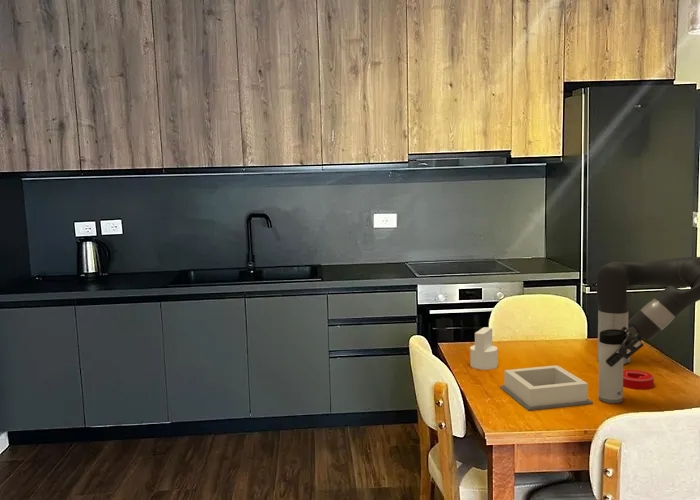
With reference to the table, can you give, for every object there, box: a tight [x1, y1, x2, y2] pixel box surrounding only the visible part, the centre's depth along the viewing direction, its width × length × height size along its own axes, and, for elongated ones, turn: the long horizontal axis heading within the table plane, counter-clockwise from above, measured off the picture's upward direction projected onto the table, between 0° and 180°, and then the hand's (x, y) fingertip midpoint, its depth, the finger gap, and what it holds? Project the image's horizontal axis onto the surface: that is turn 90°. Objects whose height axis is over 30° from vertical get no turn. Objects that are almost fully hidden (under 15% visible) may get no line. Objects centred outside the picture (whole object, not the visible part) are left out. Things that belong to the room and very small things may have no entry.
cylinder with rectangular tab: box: [469, 326, 499, 371], centre depth 209 cm, size 9×9×12 cm
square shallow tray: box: [499, 365, 594, 412], centre depth 180 cm, size 19×19×6 cm
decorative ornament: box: [623, 369, 655, 391], centre depth 187 cm, size 10×10×3 cm
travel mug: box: [598, 329, 625, 405], centre depth 174 cm, size 6×7×20 cm
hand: (605, 360), depth 174 cm, fingers closed on travel mug, 6 cm apart
